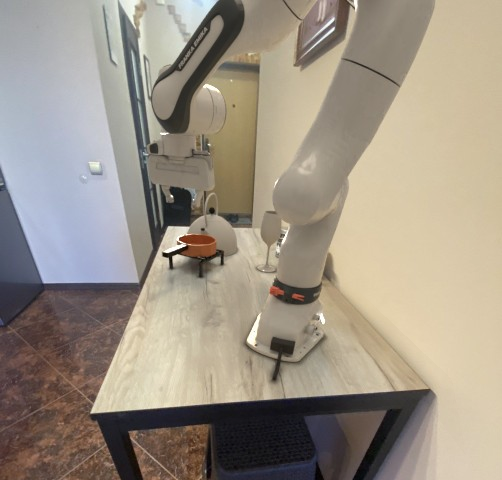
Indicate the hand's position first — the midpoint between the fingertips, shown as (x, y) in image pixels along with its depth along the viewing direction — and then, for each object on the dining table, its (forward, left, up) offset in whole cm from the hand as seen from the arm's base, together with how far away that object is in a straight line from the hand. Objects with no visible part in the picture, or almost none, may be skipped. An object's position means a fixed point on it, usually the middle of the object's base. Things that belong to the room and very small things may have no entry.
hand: (183, 204), depth 84 cm
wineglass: (+28, -18, -25) cm, 41 cm away
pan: (+8, +5, -18) cm, 21 cm away
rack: (+14, +5, -24) cm, 28 cm away
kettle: (+35, +12, -25) cm, 44 cm away
